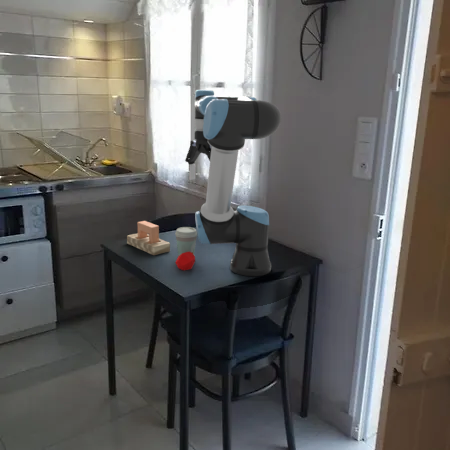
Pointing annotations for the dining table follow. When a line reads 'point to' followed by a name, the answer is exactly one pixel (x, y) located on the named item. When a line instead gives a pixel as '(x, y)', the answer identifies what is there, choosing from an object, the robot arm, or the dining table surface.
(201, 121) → the robot arm
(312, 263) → the dining table surface
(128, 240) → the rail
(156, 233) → the clip
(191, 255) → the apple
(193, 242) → the coffee cup
